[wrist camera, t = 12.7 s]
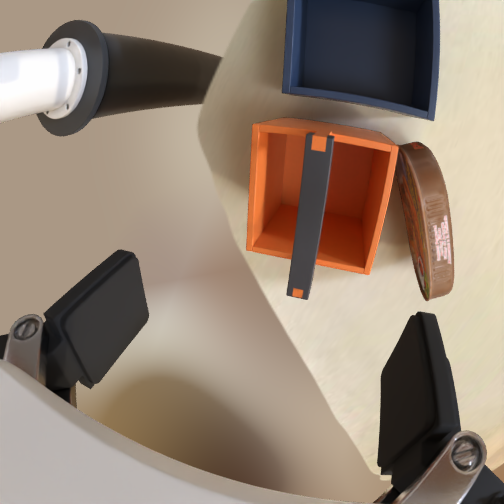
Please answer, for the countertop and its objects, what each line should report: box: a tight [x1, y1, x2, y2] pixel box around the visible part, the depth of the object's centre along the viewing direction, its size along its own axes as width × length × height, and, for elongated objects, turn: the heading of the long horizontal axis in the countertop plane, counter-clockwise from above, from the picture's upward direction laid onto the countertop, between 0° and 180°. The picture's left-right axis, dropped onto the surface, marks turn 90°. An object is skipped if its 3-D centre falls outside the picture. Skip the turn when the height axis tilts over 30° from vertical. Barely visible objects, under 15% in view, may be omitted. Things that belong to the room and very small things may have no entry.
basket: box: [246, 117, 399, 300], centre depth 22 cm, size 10×10×15 cm
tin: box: [395, 142, 454, 301], centre depth 23 cm, size 15×3×8 cm, turn 22°
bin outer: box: [282, 0, 440, 121], centre depth 18 cm, size 12×12×7 cm
